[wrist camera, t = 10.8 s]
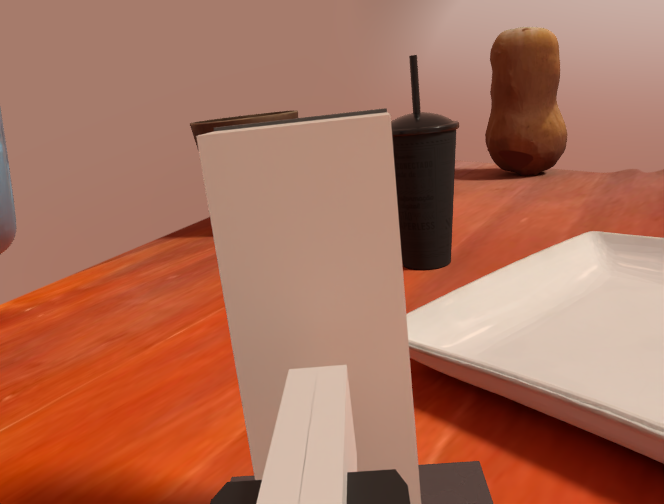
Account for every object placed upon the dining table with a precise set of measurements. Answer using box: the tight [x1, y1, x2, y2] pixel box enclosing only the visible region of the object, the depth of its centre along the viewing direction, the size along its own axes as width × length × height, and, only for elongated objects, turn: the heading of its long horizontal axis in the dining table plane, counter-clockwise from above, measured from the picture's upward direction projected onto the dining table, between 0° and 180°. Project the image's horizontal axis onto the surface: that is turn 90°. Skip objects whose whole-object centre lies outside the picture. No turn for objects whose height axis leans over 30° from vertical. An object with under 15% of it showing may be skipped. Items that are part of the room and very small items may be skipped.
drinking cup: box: [391, 55, 459, 270], centre depth 54 cm, size 8×8×20 cm
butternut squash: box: [485, 27, 567, 176], centre depth 98 cm, size 14×13×25 cm
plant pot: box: [190, 111, 298, 151], centre depth 79 cm, size 15×15×16 cm
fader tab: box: [196, 109, 421, 504], centre depth 18 cm, size 4×5×15 cm
